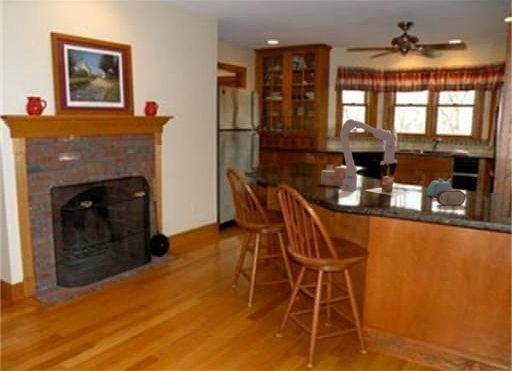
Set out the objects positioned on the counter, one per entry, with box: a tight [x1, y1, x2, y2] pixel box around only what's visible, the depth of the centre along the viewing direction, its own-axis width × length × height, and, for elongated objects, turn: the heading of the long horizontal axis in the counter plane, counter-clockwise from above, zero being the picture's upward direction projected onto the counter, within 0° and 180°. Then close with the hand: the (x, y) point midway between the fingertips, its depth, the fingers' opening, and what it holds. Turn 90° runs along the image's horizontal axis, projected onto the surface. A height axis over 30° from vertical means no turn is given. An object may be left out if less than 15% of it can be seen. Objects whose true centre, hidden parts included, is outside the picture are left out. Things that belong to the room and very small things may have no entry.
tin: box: [435, 189, 467, 207], centre depth 235 cm, size 15×3×8 cm, turn 92°
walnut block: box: [381, 183, 394, 192], centre depth 269 cm, size 4×4×4 cm
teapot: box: [427, 178, 453, 198], centre depth 257 cm, size 13×11×18 cm
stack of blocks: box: [320, 166, 347, 187], centre depth 293 cm, size 21×6×12 cm, turn 68°
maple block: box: [382, 175, 395, 186], centre depth 268 cm, size 4×4×4 cm
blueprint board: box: [364, 187, 410, 197], centre depth 269 cm, size 22×16×1 cm
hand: (388, 175), depth 268 cm, fingers open, 7 cm apart
